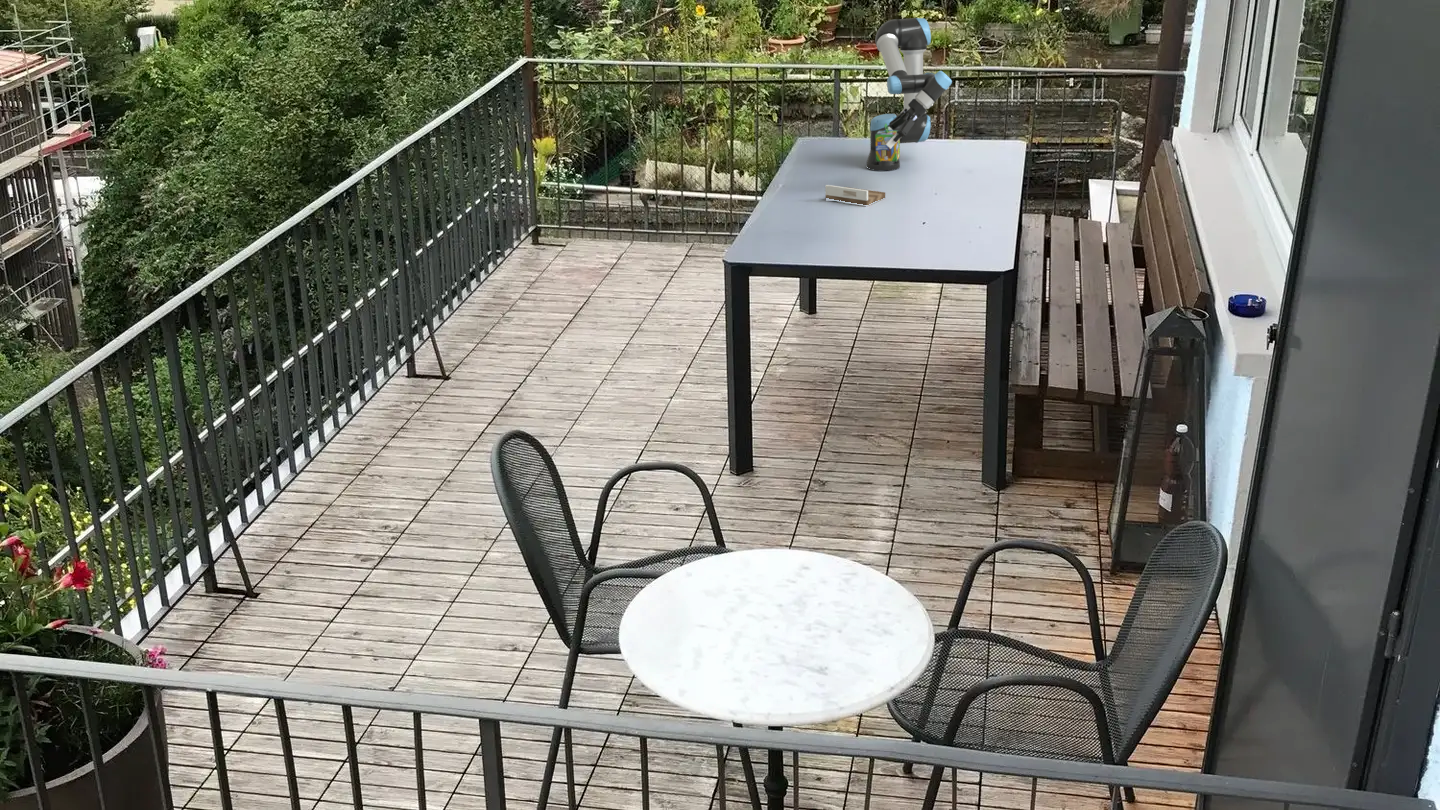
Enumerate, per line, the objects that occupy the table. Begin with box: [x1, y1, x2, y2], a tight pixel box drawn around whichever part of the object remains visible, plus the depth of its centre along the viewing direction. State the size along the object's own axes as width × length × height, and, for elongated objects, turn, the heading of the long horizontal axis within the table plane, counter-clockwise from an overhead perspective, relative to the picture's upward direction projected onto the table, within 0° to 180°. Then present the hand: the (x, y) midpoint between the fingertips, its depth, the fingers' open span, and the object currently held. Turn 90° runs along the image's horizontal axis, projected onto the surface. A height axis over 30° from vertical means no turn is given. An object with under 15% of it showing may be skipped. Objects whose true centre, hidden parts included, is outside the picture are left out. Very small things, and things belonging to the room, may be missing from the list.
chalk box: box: [875, 124, 901, 161], centre depth 566 cm, size 9×9×15 cm
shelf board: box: [824, 184, 886, 206], centre depth 564 cm, size 15×20×6 cm
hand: (884, 143), depth 566 cm, fingers closed on chalk box, 11 cm apart
